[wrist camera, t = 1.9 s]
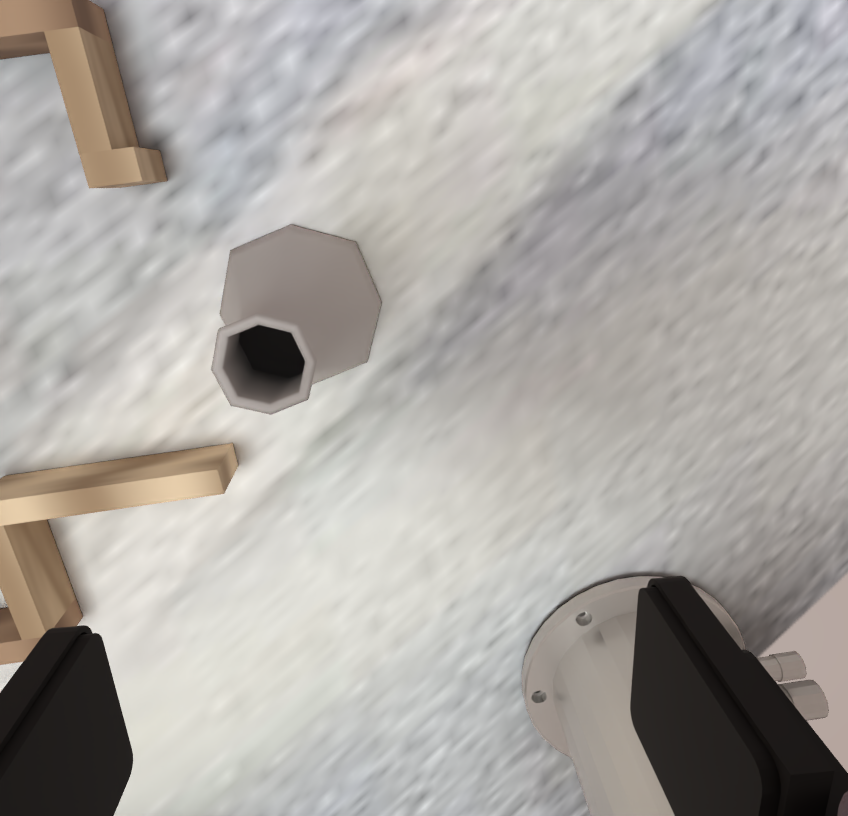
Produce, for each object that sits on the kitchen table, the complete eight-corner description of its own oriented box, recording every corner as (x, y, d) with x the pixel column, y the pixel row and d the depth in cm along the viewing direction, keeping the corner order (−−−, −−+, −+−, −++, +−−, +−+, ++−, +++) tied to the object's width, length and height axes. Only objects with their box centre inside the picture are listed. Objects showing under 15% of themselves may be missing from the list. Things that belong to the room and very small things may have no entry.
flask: (374, 218, 28) (371, 236, 19) (387, 377, 30) (390, 464, 21) (207, 229, 28) (117, 253, 18) (233, 389, 30) (166, 482, 21)
